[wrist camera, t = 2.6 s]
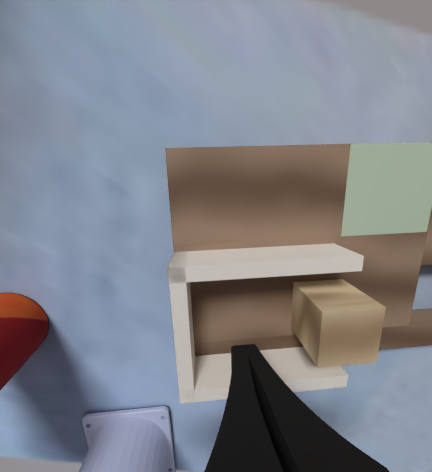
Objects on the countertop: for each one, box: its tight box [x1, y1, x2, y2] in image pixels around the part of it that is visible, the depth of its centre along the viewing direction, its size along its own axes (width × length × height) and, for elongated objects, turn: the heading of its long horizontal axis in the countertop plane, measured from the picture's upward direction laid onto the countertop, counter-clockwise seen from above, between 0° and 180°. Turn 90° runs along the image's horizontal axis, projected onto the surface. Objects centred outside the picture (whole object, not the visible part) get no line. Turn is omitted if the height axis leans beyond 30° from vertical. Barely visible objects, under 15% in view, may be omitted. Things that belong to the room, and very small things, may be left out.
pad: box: [341, 142, 432, 236], centre depth 16 cm, size 6×7×2 cm
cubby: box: [168, 243, 364, 404], centre depth 15 cm, size 10×12×3 cm
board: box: [165, 144, 432, 356], centre depth 17 cm, size 17×26×2 cm, turn 92°
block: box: [291, 279, 386, 368], centre depth 15 cm, size 4×4×4 cm
